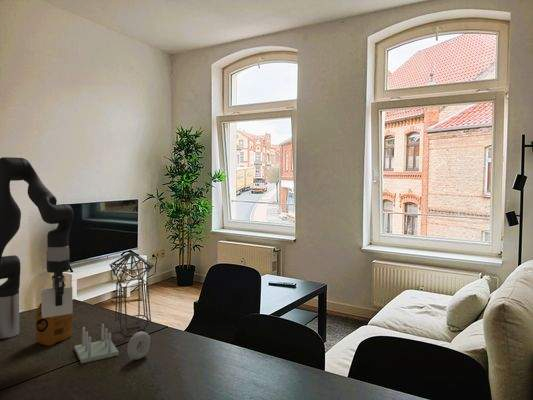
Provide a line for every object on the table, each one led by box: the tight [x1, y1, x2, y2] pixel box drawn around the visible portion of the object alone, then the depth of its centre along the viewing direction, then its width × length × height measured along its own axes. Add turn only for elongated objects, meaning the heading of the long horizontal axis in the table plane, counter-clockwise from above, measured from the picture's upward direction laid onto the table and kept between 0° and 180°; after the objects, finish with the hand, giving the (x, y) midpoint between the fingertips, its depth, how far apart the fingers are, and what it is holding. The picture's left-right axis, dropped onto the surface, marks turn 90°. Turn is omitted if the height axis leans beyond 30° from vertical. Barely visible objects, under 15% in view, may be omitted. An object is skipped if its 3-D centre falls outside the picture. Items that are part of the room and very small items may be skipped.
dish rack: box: [74, 323, 120, 364], centre depth 154 cm, size 14×13×8 cm
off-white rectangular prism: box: [40, 285, 74, 318], centre depth 150 cm, size 2×10×10 cm, turn 124°
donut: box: [126, 330, 151, 361], centre depth 149 cm, size 10×4×10 cm, turn 150°
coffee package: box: [35, 283, 73, 347], centre depth 165 cm, size 10×12×22 cm
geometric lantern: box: [109, 252, 155, 337], centre depth 174 cm, size 16×16×35 cm
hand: (58, 304), depth 150 cm, fingers closed on off-white rectangular prism, 2 cm apart
